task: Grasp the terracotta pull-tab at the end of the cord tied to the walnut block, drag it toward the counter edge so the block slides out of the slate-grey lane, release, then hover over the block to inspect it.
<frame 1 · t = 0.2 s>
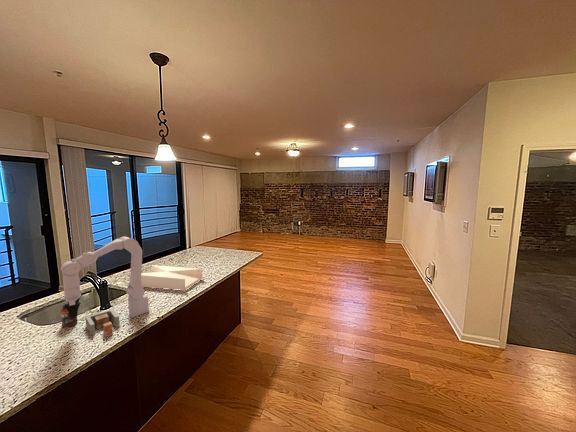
hand: (74, 314, 117), 10 cm above the countertop, fingers open, 7 cm apart
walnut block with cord: (102, 324, 126), on the countertop
supplement bottle: (69, 324, 126), on the countertop
slate lane: (103, 326, 125), on the countertop
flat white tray: (167, 283, 184), on the countertop
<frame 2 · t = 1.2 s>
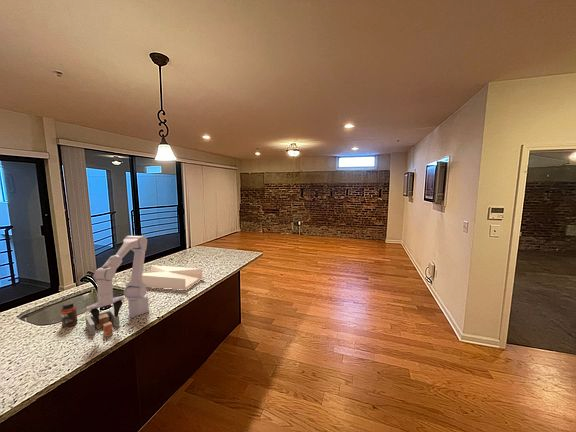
hand: (107, 319, 118), 7 cm above the countertop, fingers open, 7 cm apart
nothing on the countertop moved.
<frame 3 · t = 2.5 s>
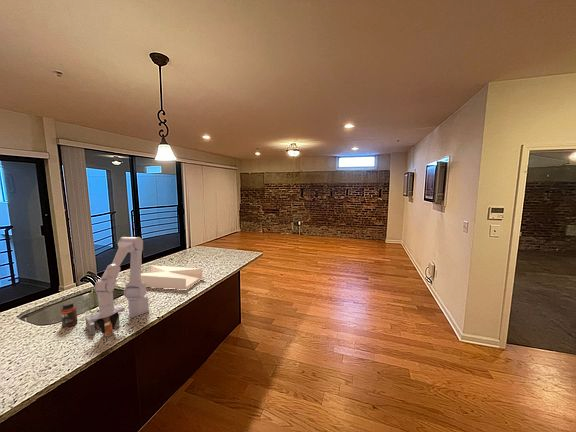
hand: (108, 330, 118), 1 cm above the countertop, fingers closed on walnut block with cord, 3 cm apart
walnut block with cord: (102, 324, 126), on the countertop, touching gripper
everything else where it was.
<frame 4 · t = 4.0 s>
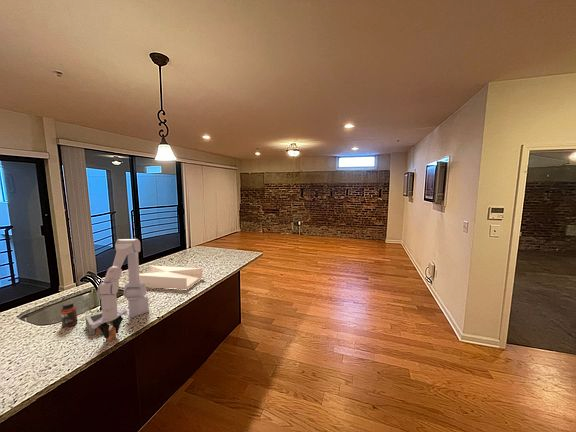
hand: (111, 335, 114), 2 cm above the countertop, fingers closed on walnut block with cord, 3 cm apart
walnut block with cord: (101, 330, 121), on the countertop, touching gripper
everything else where it was.
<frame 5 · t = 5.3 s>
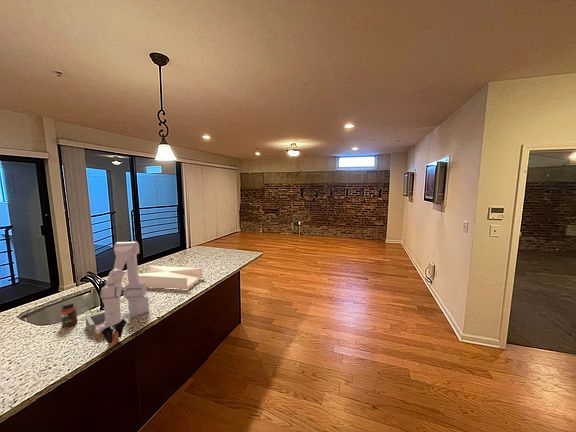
hand: (114, 339, 111), 2 cm above the countertop, fingers closed on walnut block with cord, 4 cm apart
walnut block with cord: (103, 334, 118), on the countertop, touching gripper
everything else where it was.
when the fingers open (2 cm above the countertop, at t = 6.0 s): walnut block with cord stays where it is, on the countertop.
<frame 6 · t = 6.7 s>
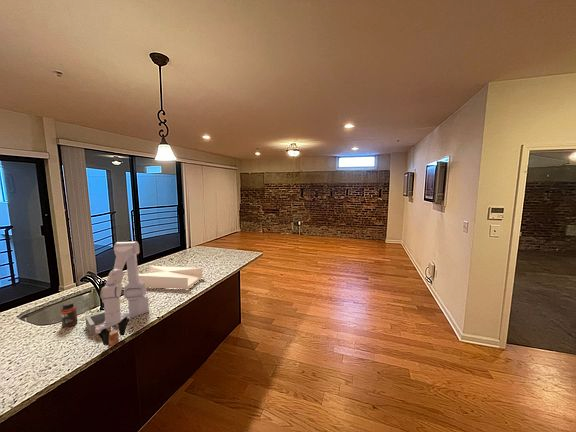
hand: (114, 339, 111), 2 cm above the countertop, fingers open, 7 cm apart
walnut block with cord: (103, 334, 118), on the countertop
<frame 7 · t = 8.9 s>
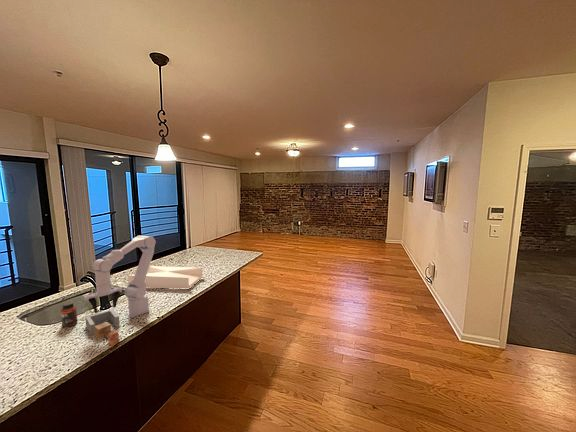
hand: (105, 309, 122), 10 cm above the countertop, fingers open, 7 cm apart
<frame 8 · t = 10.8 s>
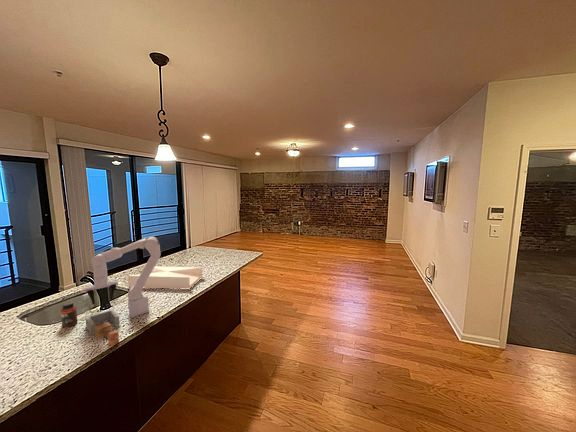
hand: (102, 301, 131), 10 cm above the countertop, fingers open, 7 cm apart
at the end: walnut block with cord moved 10.8 cm from its start; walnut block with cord inside the target area (8.0 cm from its centre), on the countertop; the gripper is holding nothing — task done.
